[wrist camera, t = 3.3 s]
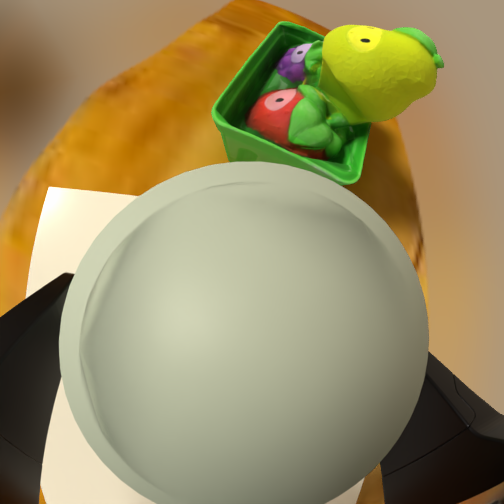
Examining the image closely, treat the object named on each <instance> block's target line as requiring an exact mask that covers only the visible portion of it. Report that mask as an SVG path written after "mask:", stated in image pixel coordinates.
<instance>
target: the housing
mask: <svg viewBox="0 0 504 504" xmlns="http://www.w3.org/2000/svg"><path fill="white" fill-rule="evenodd" d="M137 197H139V196H131V195H123V194H114V193H105V192H96V191H86V190H76V189H66V188H54V187H49V189H48V192H47V196H46V199H45V202H44V206H43V210H42V213H41V217H40V221H39V225H38V229H37V234H36V238H35V243H34V248H33V253H32V258H31V264H30V270H29V277H28V284H27V292H26V298H27V297H29V296H30V295H32V294H33V293H34V292H36V291H37V290H39V289H40V288H42V287H43V286H45V285H46V284H48V283H49V282H51V281H52V280H54V279H55V278H57V277H58V276H60V275H61V274H63V273H65V272H68V273H74V274H75V273H76V270H77V268H78V266H79V264H80V262H81V260H82V258H83V257H84V255H85V254H86V252H87V250H88V249H89V247H90V246H91V244H92V243H93V241H94V240H95V238H96V237H97V236H98V235H99V233H100V232H101V231H102V230H103V229H104V228H105V227H106V225H107V224H108V223H109V222H110V221H111V220H112V219H113V217H114V216H116V215H117V214H118V213H119V212H120V211H121V210H123V209H124V208H125V207H126V206H127V205H128V204H130V203H131V202H132V201H133V200H134V199H136V198H137ZM364 478H365V477H364ZM364 478H363V479H362V480H361V481H359V482H358V483H357V484H356V485H354V486H353V487H351V488H350V489H349V490H347V491H346V492H344V493H343V494H341V495H340V496H338V497H336V498H334V499H333V500H331V501H329V502H327V503H325V504H356V502H357V499H358V496H359V493H360V490H361V487H362V484H363V481H364ZM40 484H41V488H42V491H43V494H44V498H45V501H46V504H156V503H154V502H152V501H151V500H149V499H147V498H145V497H143V496H142V495H140V494H139V493H137V492H136V491H134V490H133V489H132V488H130V487H129V486H128V485H126V484H125V483H124V482H122V481H121V480H120V479H119V478H118V477H117V476H116V475H115V474H114V473H113V472H112V471H111V470H110V469H109V468H108V467H107V466H106V465H105V464H104V463H103V462H102V461H101V460H100V458H99V457H98V456H97V455H96V453H95V452H94V451H93V449H92V448H91V447H90V445H89V444H88V443H87V441H86V439H85V437H84V436H83V434H82V432H81V430H80V429H79V427H78V425H77V423H76V421H75V419H74V416H73V414H72V411H71V409H70V406H69V403H68V400H67V398H66V395H65V390H64V385H63V381H62V377H61V381H60V384H59V388H58V391H57V395H56V399H55V403H54V407H53V411H52V416H51V420H50V425H49V430H48V435H47V440H46V445H45V451H44V458H43V464H42V473H41V482H40Z"/></svg>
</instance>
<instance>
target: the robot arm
mask: <svg viewBox="0 0 504 504" xmlns="http://www.w3.org/2000/svg"><path fill="white" fill-rule="evenodd" d="M74 275H75V274H74V273H68V272H65V273H63V274H61V275H60V276H58V277H57V278H55V279H54V280H52V281H51V282H49V283H48V284H46V285H45V286H43V287H42V288H40V289H39V290H37V291H36V292H34V293H33V294H32V295H30V296H29V297H27V298H26V299H25V300H23V301H22V302H20V303H19V304H18V305H16V306H15V307H13V308H12V309H11V310H9V311H8V312H7V313H5V314H4V315H3V316H1V317H0V504H39V493H40V482H41V473H42V464H43V458H44V451H45V445H46V440H47V435H48V430H49V425H50V420H51V416H52V411H53V407H54V403H55V399H56V395H57V391H58V388H59V384H60V381H61V377H62V376H61V370H60V357H59V335H60V326H61V317H62V312H63V308H64V304H65V300H66V297H67V293H68V289H69V286H70V284H71V282H72V279H73V277H74ZM380 466H381V473H382V482H383V490H384V499H385V504H504V415H502V414H500V413H498V412H497V411H496V410H495V409H494V408H492V407H491V406H490V405H489V404H488V403H486V402H485V401H484V400H483V399H481V398H480V397H479V396H478V395H476V394H475V393H474V392H473V391H472V390H471V389H469V388H468V387H467V386H466V385H465V384H464V383H463V382H462V381H461V380H459V379H458V378H457V377H456V376H455V375H454V374H453V373H452V372H451V371H450V370H449V369H448V368H447V367H445V366H444V365H443V364H442V363H441V362H440V361H439V360H437V358H435V357H434V356H433V355H432V354H431V353H430V352H429V351H428V360H427V366H426V372H425V377H424V382H423V385H422V389H421V392H420V395H419V398H418V401H417V404H416V406H415V408H414V411H413V413H412V415H411V418H410V420H409V421H408V423H407V425H406V427H405V429H404V430H403V432H402V434H401V436H400V437H399V439H398V440H397V441H396V443H395V444H394V446H393V447H392V448H391V450H390V451H389V452H388V454H387V455H386V456H385V457H384V458H383V459H382V460H381V462H380Z"/></svg>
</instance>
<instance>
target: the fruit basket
mask: <svg viewBox="0 0 504 504" xmlns="http://www.w3.org/2000/svg"><path fill="white" fill-rule="evenodd" d="M443 67H444V63H443V60H442V58H441V56H440V55H438V54H437V50H436V47H435V45H434V43H433V41H432V40H431V39H430V38H429V37H428V36H426V35H425V34H424V33H423V32H421V31H420V30H418V29H415V28H408V27H403V28H396V29H394V30H392V31H388V30H383V29H379V28H375V27H371V26H361V25H345V26H341V27H339V28H336V29H334V30H332V31H331V32H329V33H328V34H327V35H326V36H322V35H320V34H318V33H316V32H314V31H311V30H310V29H308V28H306V27H303V26H300V25H297V24H294V23H291V22H285V21H283V22H279V23H278V24H277V25H276V26H275V27H274V28H273V30H272V31H271V32H270V33H269V34H268V35H267V37H266V38H265V39H264V41H263V42H262V43H261V44H260V45H259V47H258V48H257V49H256V50H255V51H254V53H253V54H252V55H251V56H250V57H249V58H248V60H247V61H246V62H245V64H244V65H243V66H242V68H241V69H240V70H239V72H238V73H237V74H236V76H235V77H234V78H233V80H232V81H231V82H230V83H229V85H228V86H227V88H226V89H225V91H224V92H223V93H222V94H221V96H220V97H219V99H218V100H217V101H216V103H215V104H214V106H213V108H212V112H211V113H212V117H213V120H214V122H215V124H216V127H217V128H218V130H219V131H220V132H221V136H222V139H223V143H224V146H225V150H226V153H227V157H228V160H229V161H230V162H268V163H276V164H283V165H288V166H292V167H296V168H300V169H303V170H307V171H310V172H313V173H315V174H317V175H320V176H322V177H325V178H327V179H329V180H332V181H333V182H335V183H337V184H339V185H340V186H342V185H349V184H353V183H355V182H357V181H358V180H359V178H360V176H361V172H362V167H363V162H364V157H365V152H366V147H367V142H368V137H369V132H370V127H371V122H381V121H386V120H389V119H392V118H394V117H396V116H397V115H399V114H400V113H402V112H403V111H404V110H405V109H406V108H407V107H408V106H409V105H410V104H411V103H412V102H414V101H415V100H417V99H419V98H422V97H424V96H426V95H427V94H429V93H430V92H431V91H432V90H433V89H434V87H435V84H436V78H437V68H443Z"/></svg>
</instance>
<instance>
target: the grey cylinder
mask: <svg viewBox="0 0 504 504" xmlns="http://www.w3.org/2000/svg"><path fill="white" fill-rule="evenodd" d="M428 346H429V330H428V316H427V310H426V305H425V299H424V295H423V292H422V288H421V285H420V282H419V278H418V276H417V273H416V271H415V269H414V266H413V264H412V262H411V260H410V257H409V256H408V254H407V252H406V251H405V249H404V247H403V246H402V244H401V242H400V241H399V239H398V238H397V236H396V235H395V234H394V232H393V231H392V230H391V229H390V227H389V226H388V225H387V223H386V222H385V221H384V220H383V219H382V218H381V217H380V216H379V215H378V214H377V213H376V212H375V211H374V210H373V209H372V208H371V207H370V206H369V205H368V204H366V203H365V202H364V201H362V200H361V199H360V198H359V197H357V196H356V195H355V194H353V193H352V192H350V191H349V190H347V189H345V188H344V187H342V186H340V185H339V184H337V183H335V182H333V181H332V180H329V179H327V178H325V177H322V176H320V175H317V174H315V173H313V172H310V171H307V170H303V169H300V168H296V167H292V166H288V165H283V164H276V163H268V162H230V163H223V164H216V165H209V166H206V167H202V168H199V169H195V170H192V171H188V172H185V173H182V174H180V175H178V176H175V177H173V178H171V179H169V180H166V181H164V182H162V183H160V184H158V185H156V186H155V187H153V188H151V189H150V190H148V191H147V192H145V193H143V194H142V195H140V196H139V197H137V198H136V199H134V200H133V201H132V202H131V203H130V204H128V205H127V206H126V207H125V208H124V209H123V210H121V211H120V212H119V213H118V214H117V215H116V216H114V217H113V219H112V220H111V221H110V222H109V223H108V224H107V225H106V227H105V228H104V229H103V230H102V231H101V232H100V233H99V235H98V236H97V237H96V238H95V240H94V241H93V243H92V244H91V246H90V247H89V249H88V250H87V252H86V254H85V255H84V257H83V258H82V260H81V262H80V264H79V266H78V268H77V270H76V273H75V275H74V277H73V279H72V282H71V284H70V286H69V289H68V293H67V297H66V300H65V304H64V308H63V312H62V317H61V326H60V335H59V357H60V370H61V376H62V381H63V385H64V390H65V395H66V398H67V400H68V403H69V406H70V409H71V411H72V414H73V416H74V419H75V421H76V423H77V425H78V427H79V429H80V430H81V432H82V434H83V436H84V437H85V439H86V441H87V443H88V444H89V445H90V447H91V448H92V449H93V451H94V452H95V453H96V455H97V456H98V457H99V458H100V460H101V461H102V462H103V463H104V464H105V465H106V466H107V467H108V468H109V469H110V470H111V471H112V472H113V473H114V474H115V475H116V476H117V477H118V478H119V479H120V480H121V481H122V482H124V483H125V484H126V485H128V486H129V487H130V488H132V489H133V490H134V491H136V492H137V493H139V494H140V495H142V496H143V497H145V498H147V499H149V500H151V501H152V502H154V503H156V504H325V503H327V502H329V501H331V500H333V499H334V498H336V497H338V496H340V495H341V494H343V493H344V492H346V491H347V490H349V489H350V488H351V487H353V486H354V485H356V484H357V483H358V482H359V481H361V480H362V479H363V478H364V477H365V476H366V475H368V474H369V473H370V472H371V471H372V470H373V469H374V468H375V467H376V466H377V465H378V464H379V463H380V462H381V460H382V459H383V458H384V457H385V456H386V455H387V454H388V452H389V451H390V450H391V448H392V447H393V446H394V444H395V443H396V441H397V440H398V439H399V437H400V436H401V434H402V432H403V430H404V429H405V427H406V425H407V423H408V421H409V420H410V418H411V415H412V413H413V411H414V408H415V406H416V404H417V401H418V398H419V395H420V392H421V389H422V385H423V382H424V377H425V372H426V366H427V360H428Z"/></svg>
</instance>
